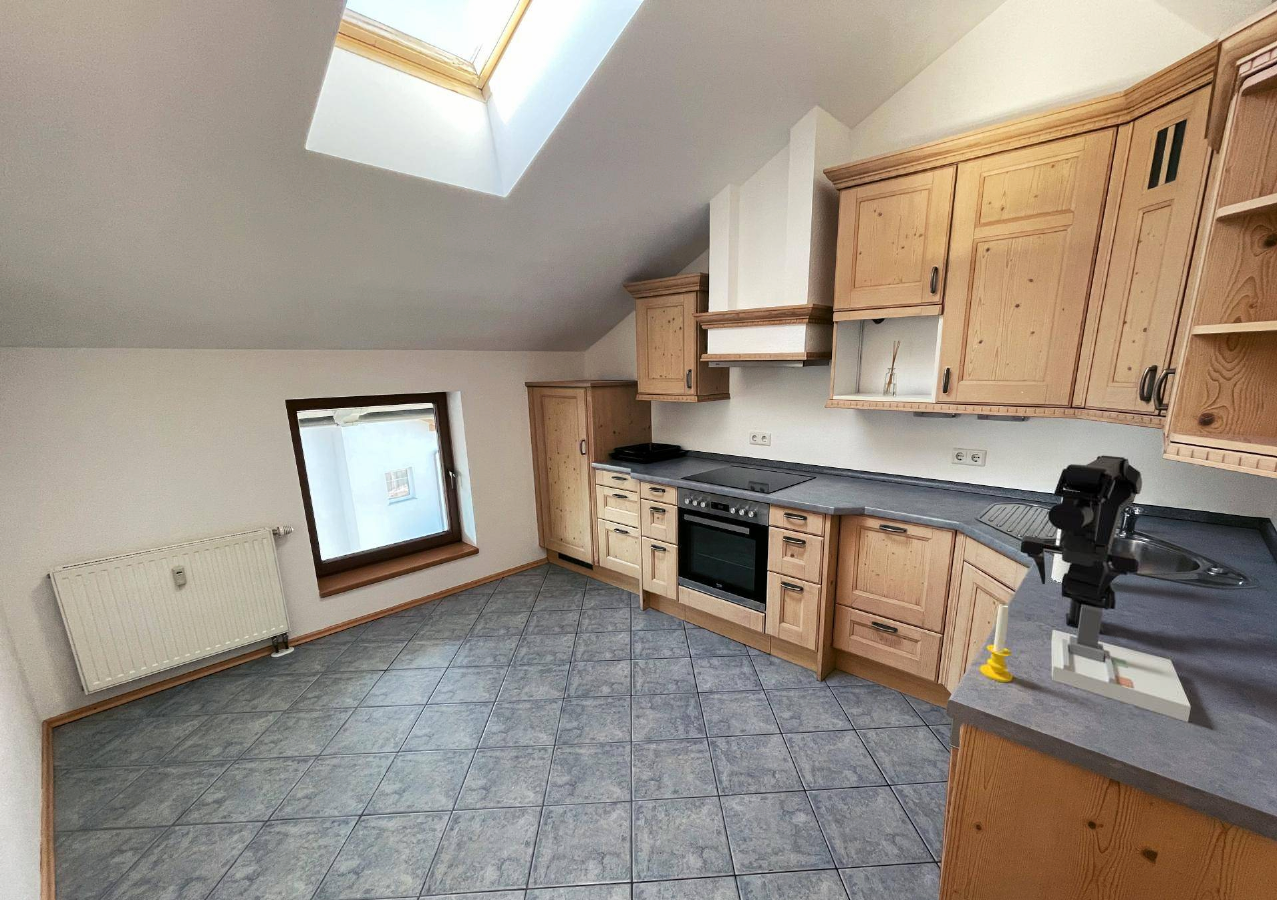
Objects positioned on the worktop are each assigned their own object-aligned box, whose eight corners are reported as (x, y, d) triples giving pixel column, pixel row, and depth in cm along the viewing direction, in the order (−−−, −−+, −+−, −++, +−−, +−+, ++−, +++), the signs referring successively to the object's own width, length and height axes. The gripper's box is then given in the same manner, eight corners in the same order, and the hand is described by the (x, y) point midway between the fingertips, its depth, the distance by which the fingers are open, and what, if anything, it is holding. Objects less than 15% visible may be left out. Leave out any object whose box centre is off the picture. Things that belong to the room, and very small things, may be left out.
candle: (977, 664, 99) (984, 595, 97) (1007, 669, 97) (1015, 599, 95) (984, 678, 94) (992, 606, 92) (1016, 684, 92) (1025, 611, 90)
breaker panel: (1051, 641, 107) (1053, 625, 107) (1168, 673, 96) (1171, 655, 95) (1051, 679, 94) (1054, 661, 93) (1187, 722, 82) (1191, 701, 81)
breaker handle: (1068, 644, 101) (1074, 601, 99) (1101, 653, 97) (1108, 608, 96) (1069, 652, 98) (1075, 608, 96) (1102, 662, 94) (1109, 615, 93)
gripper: (1023, 522, 102) (1015, 589, 105) (1148, 541, 90) (1135, 616, 93) (1025, 511, 111) (1017, 574, 113) (1139, 527, 99) (1128, 597, 101)
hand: (1070, 589), depth 105 cm, fingers open, 9 cm apart
